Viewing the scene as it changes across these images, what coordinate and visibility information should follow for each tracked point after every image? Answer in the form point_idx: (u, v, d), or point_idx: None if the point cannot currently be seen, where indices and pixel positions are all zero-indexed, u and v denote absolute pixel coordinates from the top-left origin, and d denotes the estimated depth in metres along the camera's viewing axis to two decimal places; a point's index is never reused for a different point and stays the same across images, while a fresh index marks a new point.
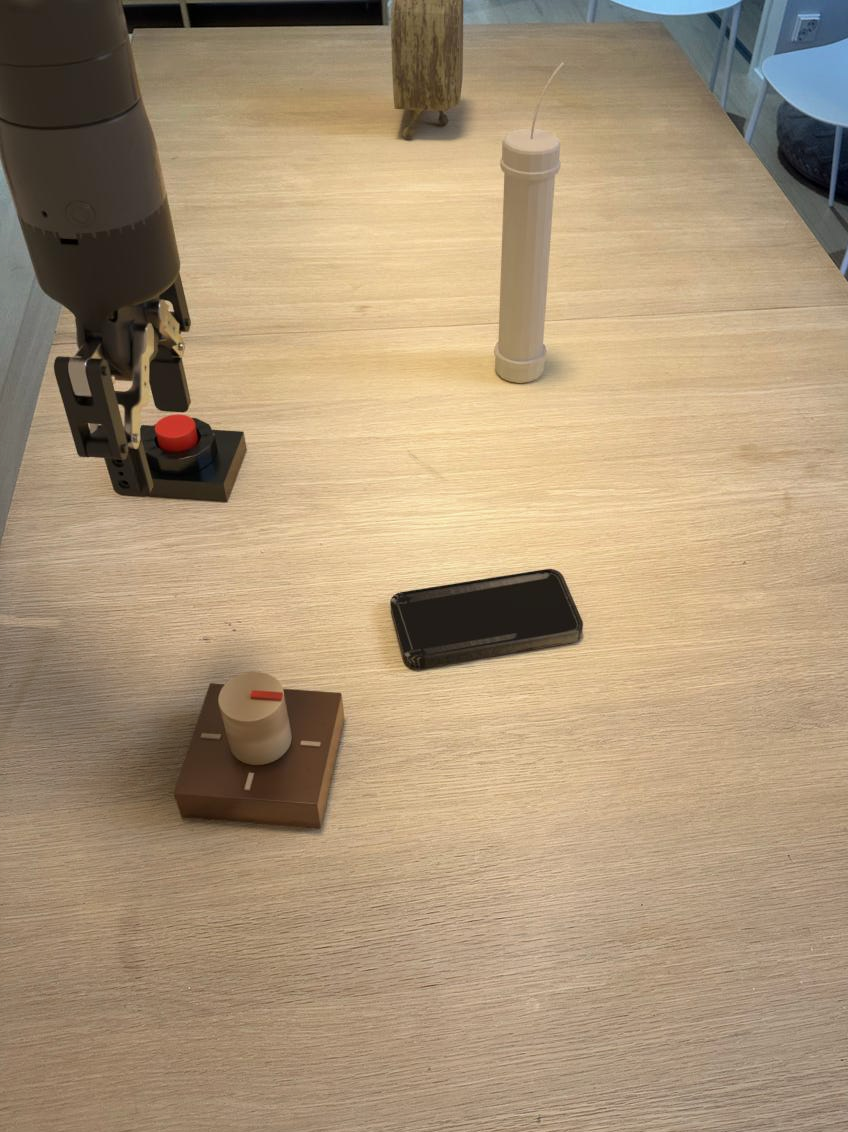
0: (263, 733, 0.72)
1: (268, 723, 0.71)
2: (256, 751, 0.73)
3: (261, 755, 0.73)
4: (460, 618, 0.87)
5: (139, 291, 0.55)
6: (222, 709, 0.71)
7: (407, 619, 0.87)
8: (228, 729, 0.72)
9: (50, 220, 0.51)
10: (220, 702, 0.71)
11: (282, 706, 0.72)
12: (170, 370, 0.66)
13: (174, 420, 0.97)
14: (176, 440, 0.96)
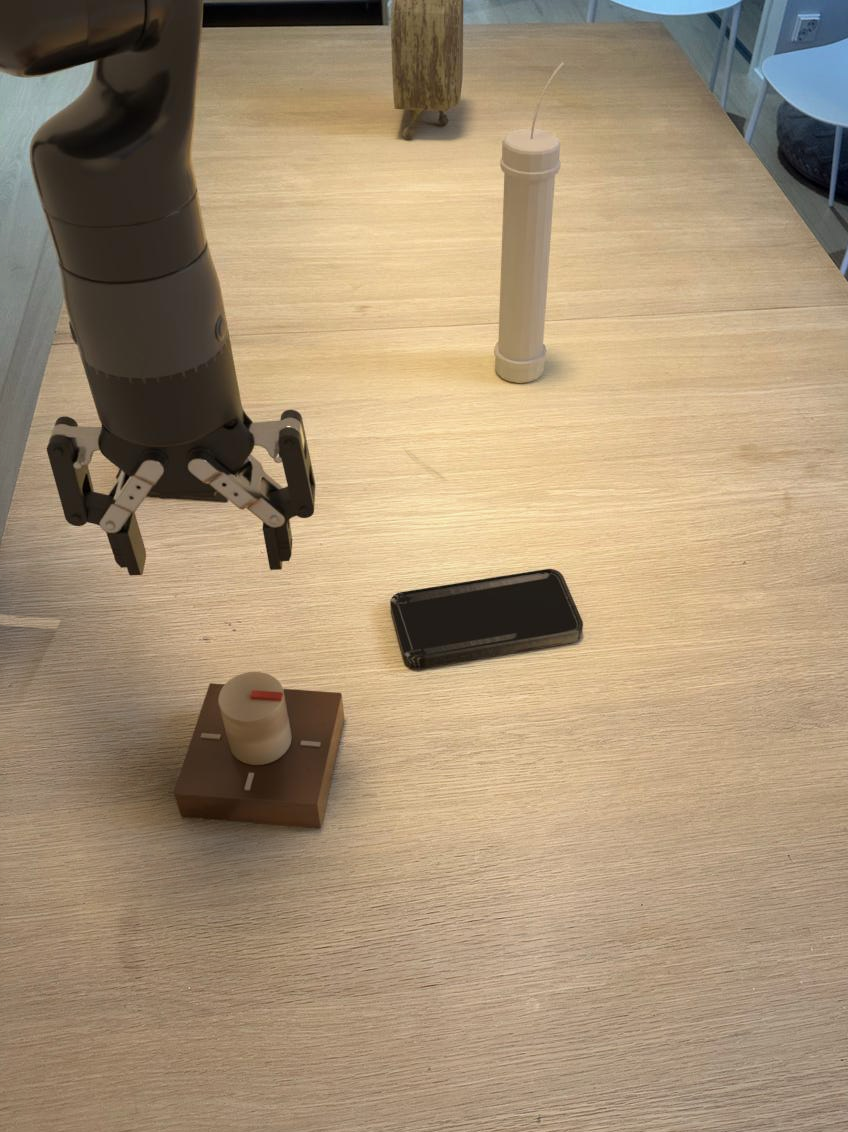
0: (263, 733, 0.72)
1: (268, 723, 0.71)
2: (256, 751, 0.73)
3: (261, 755, 0.73)
4: (460, 618, 0.87)
5: (107, 424, 0.55)
6: (222, 709, 0.71)
7: (407, 619, 0.87)
8: (228, 729, 0.72)
9: None
10: (220, 702, 0.71)
11: (282, 706, 0.72)
12: None
13: None
14: None
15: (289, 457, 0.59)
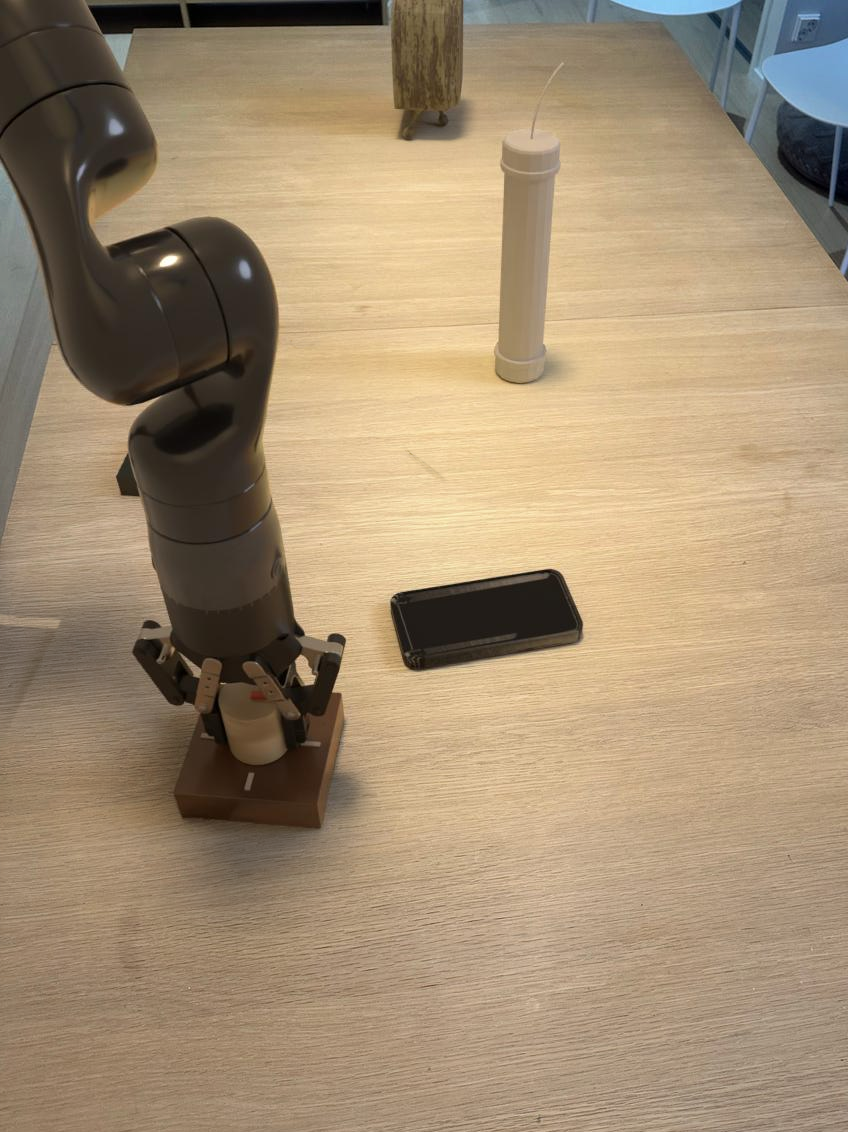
0: (263, 733, 0.72)
1: (268, 723, 0.71)
2: (256, 751, 0.73)
3: (261, 755, 0.73)
4: (460, 618, 0.87)
5: (176, 633, 0.64)
6: (222, 709, 0.71)
7: (407, 619, 0.87)
8: (228, 729, 0.72)
9: None
10: (220, 702, 0.71)
11: None
12: None
13: None
14: None
15: (325, 675, 0.68)
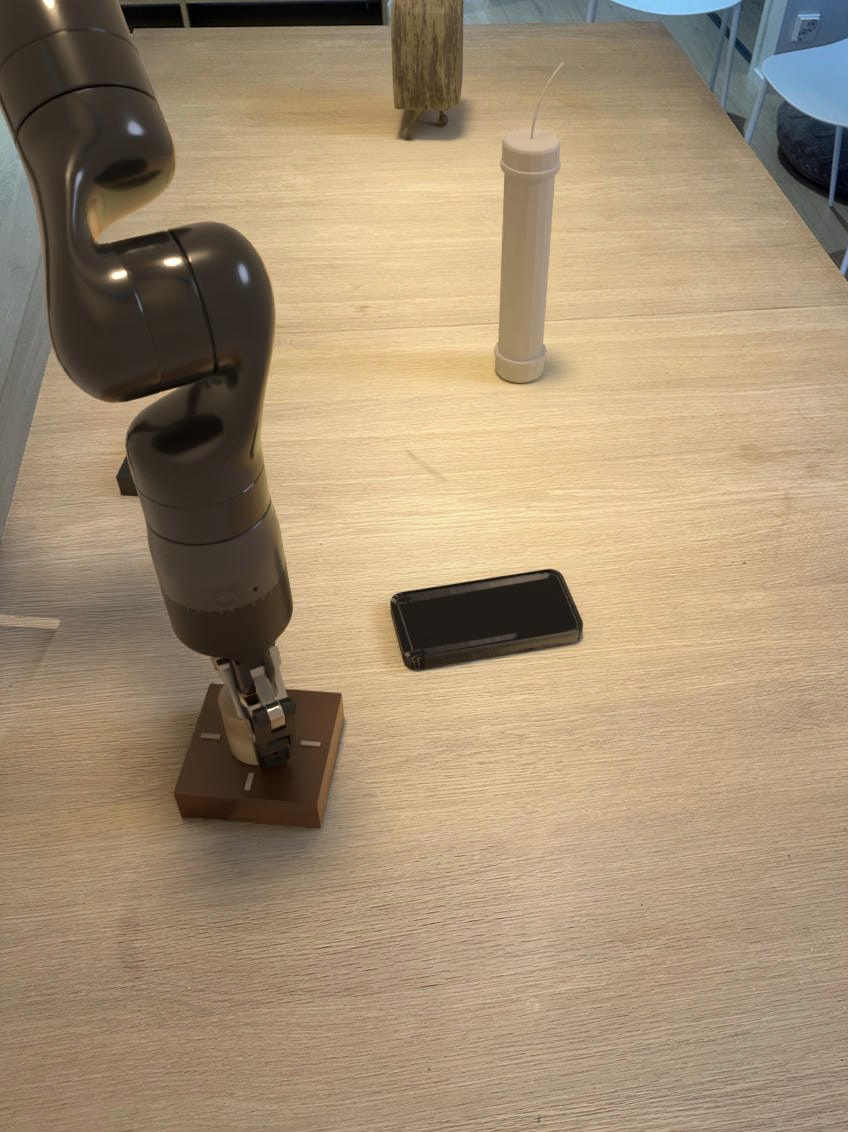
0: (231, 731, 0.72)
1: (235, 726, 0.71)
2: (229, 740, 0.73)
3: (232, 747, 0.74)
4: (460, 618, 0.87)
5: None
6: (225, 685, 0.72)
7: (407, 619, 0.87)
8: None
9: None
10: None
11: None
12: None
13: None
14: None
15: None
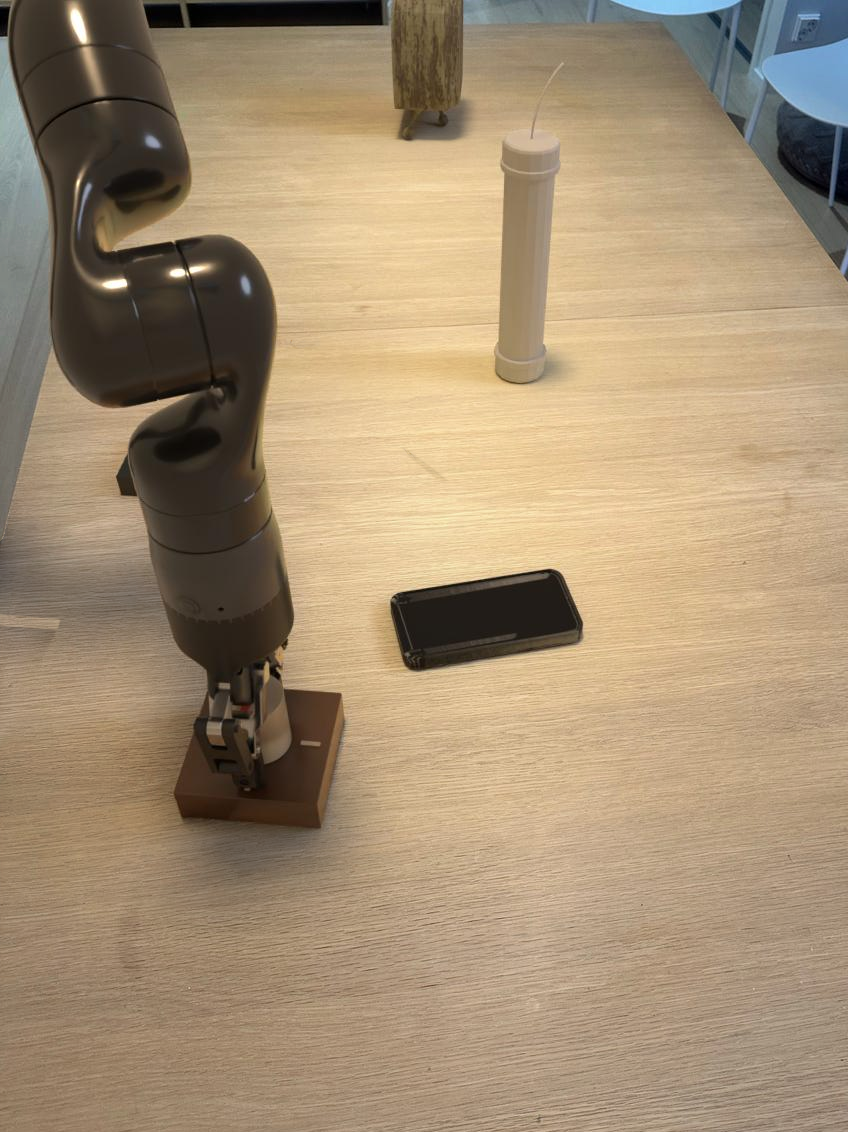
0: None
1: None
2: None
3: None
4: (460, 618, 0.87)
5: None
6: None
7: (407, 619, 0.87)
8: None
9: None
10: None
11: None
12: None
13: None
14: None
15: None
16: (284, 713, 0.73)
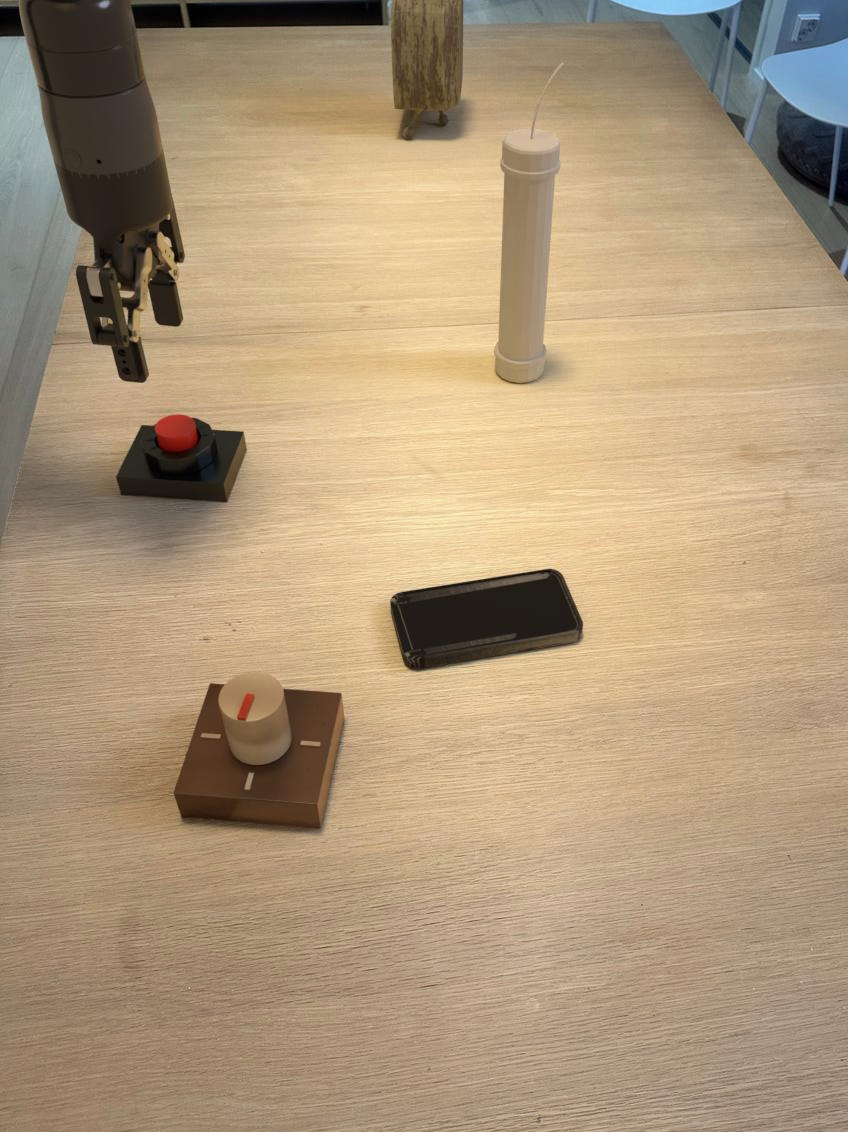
0: None
1: (223, 716, 0.72)
2: None
3: None
4: (460, 618, 0.87)
5: None
6: (239, 675, 0.73)
7: (407, 619, 0.87)
8: None
9: None
10: (248, 673, 0.73)
11: (238, 725, 0.71)
12: None
13: (174, 420, 0.97)
14: (176, 440, 0.96)
15: None
16: (284, 713, 0.73)
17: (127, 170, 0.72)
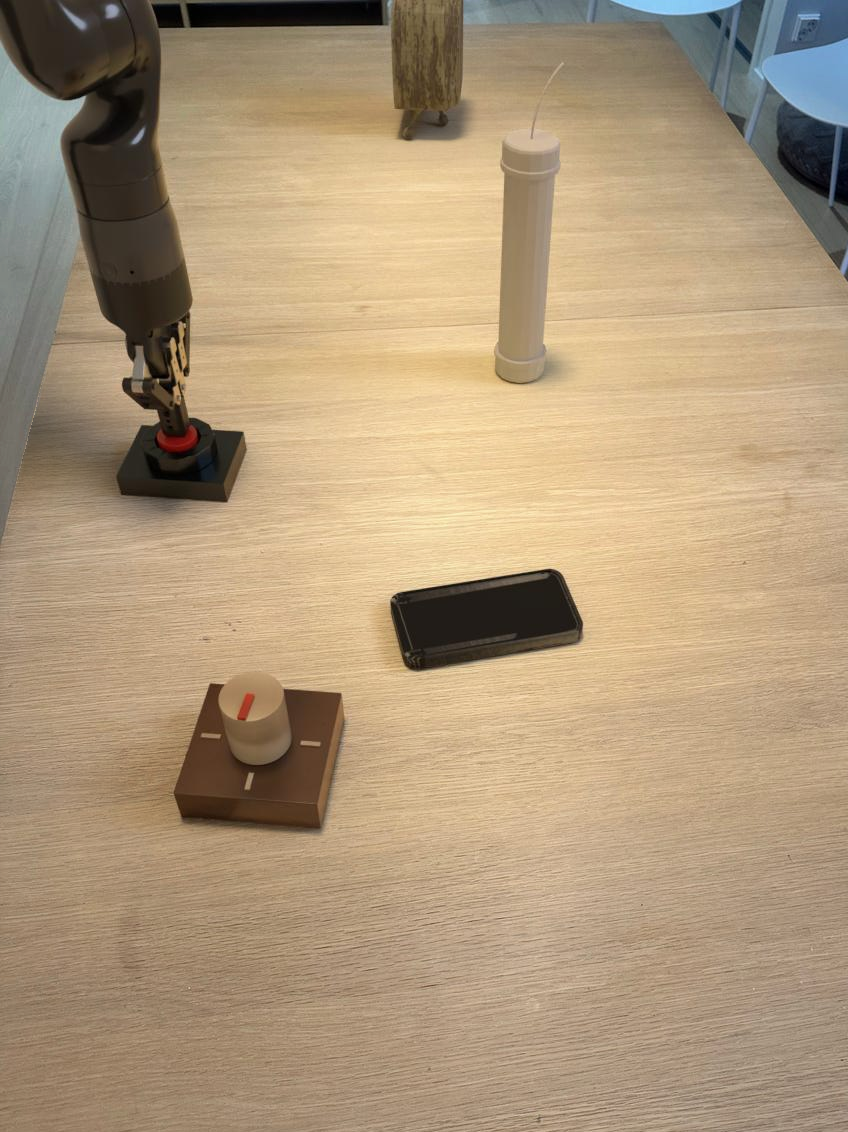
0: None
1: (223, 716, 0.72)
2: None
3: None
4: (460, 618, 0.87)
5: None
6: (239, 675, 0.73)
7: (407, 619, 0.87)
8: None
9: None
10: (248, 673, 0.73)
11: (238, 725, 0.71)
12: None
13: None
14: (178, 449, 0.97)
15: None
16: (284, 713, 0.73)
17: (156, 277, 0.83)
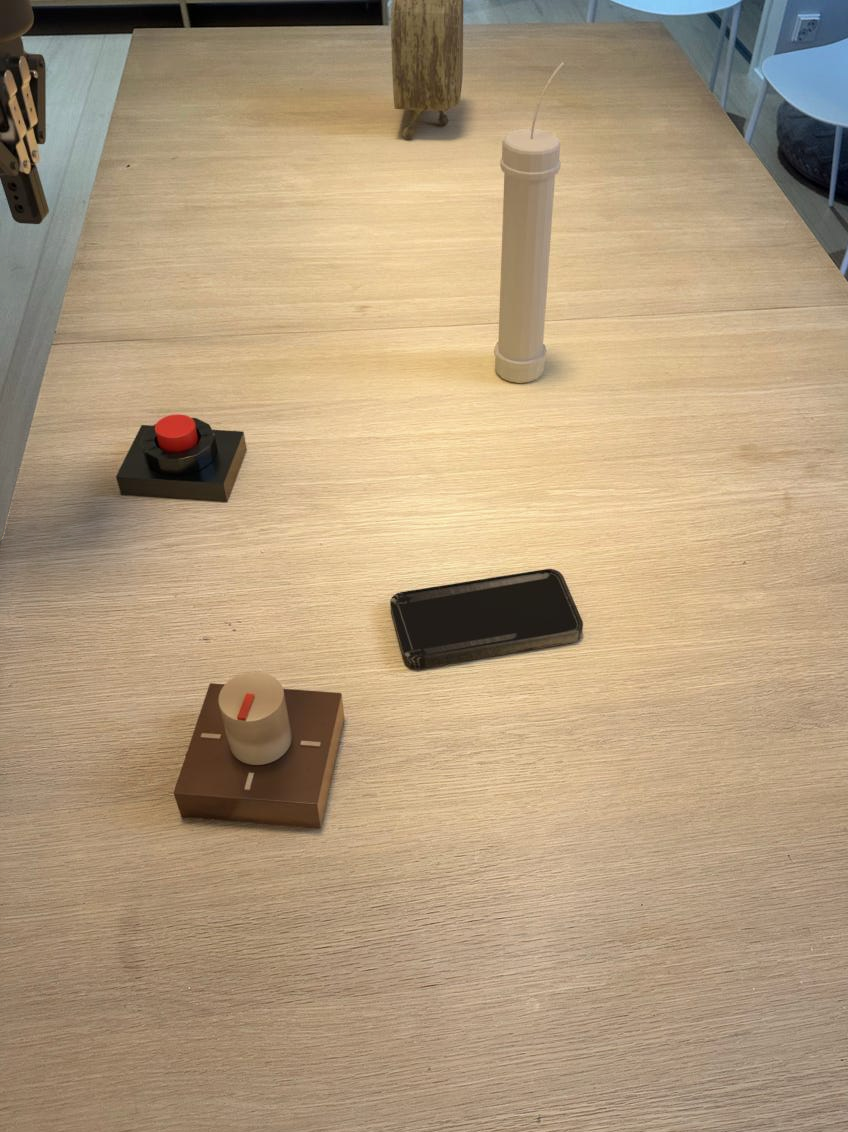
0: None
1: (223, 716, 0.72)
2: None
3: None
4: (460, 618, 0.87)
5: None
6: (239, 675, 0.73)
7: (407, 619, 0.87)
8: None
9: None
10: (248, 673, 0.73)
11: (238, 725, 0.71)
12: None
13: (174, 420, 0.97)
14: (176, 440, 0.96)
15: None
16: (284, 713, 0.73)
17: None
